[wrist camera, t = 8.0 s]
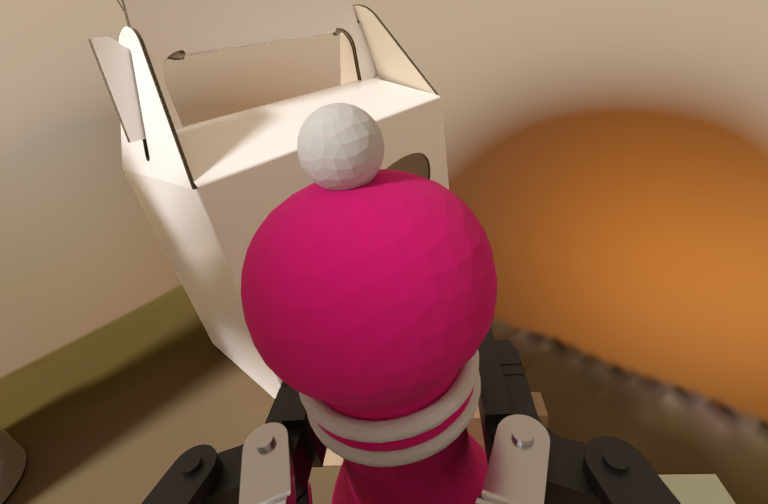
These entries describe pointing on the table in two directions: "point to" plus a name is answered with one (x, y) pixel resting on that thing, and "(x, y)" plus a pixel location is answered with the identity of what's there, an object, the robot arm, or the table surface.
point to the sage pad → (697, 488)
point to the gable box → (248, 136)
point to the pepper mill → (376, 315)
